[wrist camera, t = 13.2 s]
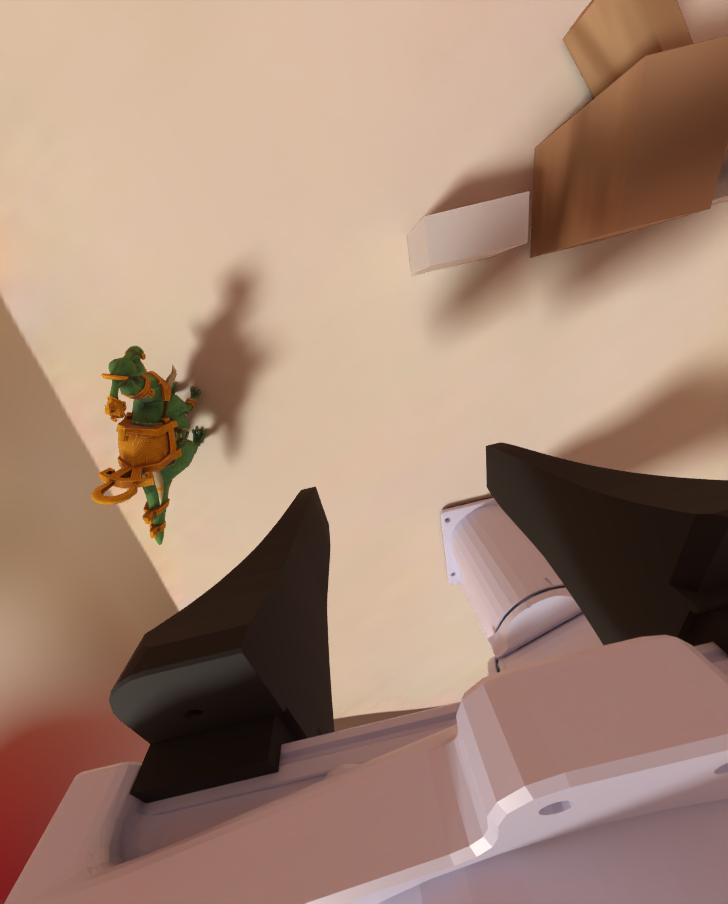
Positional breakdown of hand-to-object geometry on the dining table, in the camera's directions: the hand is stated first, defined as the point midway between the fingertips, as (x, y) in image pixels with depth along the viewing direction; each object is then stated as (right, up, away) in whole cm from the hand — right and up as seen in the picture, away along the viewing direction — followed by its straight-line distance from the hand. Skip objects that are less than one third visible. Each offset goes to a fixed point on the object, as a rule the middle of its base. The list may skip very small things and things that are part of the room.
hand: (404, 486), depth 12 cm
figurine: (-14, +3, +8) cm, 17 cm away
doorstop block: (+10, +16, +5) cm, 20 cm away
